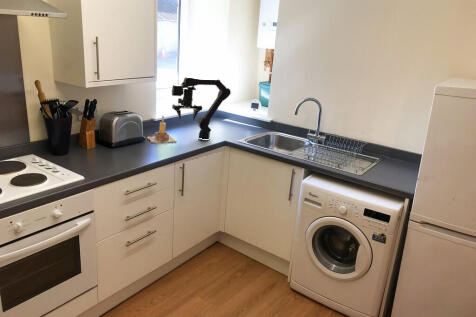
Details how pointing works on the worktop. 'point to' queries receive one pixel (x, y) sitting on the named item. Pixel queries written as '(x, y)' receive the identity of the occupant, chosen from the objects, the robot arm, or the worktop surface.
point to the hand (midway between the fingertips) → (186, 120)
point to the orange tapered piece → (162, 127)
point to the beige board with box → (161, 138)
